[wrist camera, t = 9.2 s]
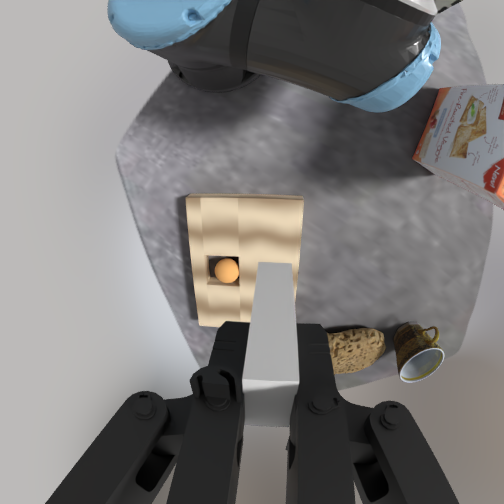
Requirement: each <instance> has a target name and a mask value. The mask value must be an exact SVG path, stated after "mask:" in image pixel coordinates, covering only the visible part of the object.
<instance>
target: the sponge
mask: <svg viewBox="0 0 504 504" xmlns="http://www.w3.org/2000/svg"><path fill="white" fill-rule="evenodd" d="M327 336H328V341H329V347H330V355H331V358H332V364H333V370H334V375H335V374H336V373H337V374H340V373H344V372H345V374H346V373H348V372H350V373H353V372H357V371H359V370H361V369H364V368H366V367H368V366H370V365H372V364H373V362H375V361H376V360H378V359H379V357H380V356H381V355H382V354H383V353H384V351H385V350H386V346H385V343H384V335H383V333H382V332H380V331H377V330H375V329H372V328H359V329H351V330H347V331H343V332H340V333H330V334H329V333H327Z"/></svg>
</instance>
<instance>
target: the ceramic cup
mask: <svg viewBox="0 0 504 504" xmlns="http://www.w3.org/2000/svg"><path fill="white" fill-rule="evenodd" d="M431 329H435V336H434V338H433V339H432V338H431V337H430V336H429V335H428V334H427V333H426V331H428V330H431ZM438 338H439V331H438V329H437V327H434V326H433V327H430V328H428V329H423V328H422V327H421V326H420V325H419V323H418V322H407V323H406V324H404V325H403V326H401V327H400V328H398V330H397V332H396V334H395V336H394V338H393V340H394V345H395V352H396V357H397V367H398V373H399V377H400V379H401V380H402V381H404V382H409V383H411V382H417V381H420V380H422V379H424V378H426V377H428V376H429V375H431V374H432V373H433V372H435V371H436V370H437V369H438V367H439V366H440V365H441V363H442V361H443V359H444V352H443V350H442V349H441V348H440V346H439V345H438V344H437V343H436V342H437V340H438Z"/></svg>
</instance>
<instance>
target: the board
mask: <svg viewBox="0 0 504 504" xmlns="http://www.w3.org/2000/svg"><path fill="white" fill-rule="evenodd" d="M303 204H304V200H303V197H302V196H294V195H269V194H189V195H188V196H187V197H186V210H187V222H188V234H189V244H190V254H191V263H192V272H193V281H194V289H195V297H196V304H197V312H198V319H199V325H201V326H212V327H221V325H222V324H223V323H224V322H225V321H236V322H250V321H251V313H252V306H253V299H254V291H255V284H256V277H257V269H258V262H273V263H292V273H293V286H294V298H295V297H296V288H297V278H298V268H299V257H300V245H301V232H302V219H303ZM208 255H213V256H236V257H239V279H238V278H237V279H236V280H235V281H233V282H231V283H223V282H221V281H220V280H219V279H218V278H217V277H210V271H209V259H208Z"/></svg>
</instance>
